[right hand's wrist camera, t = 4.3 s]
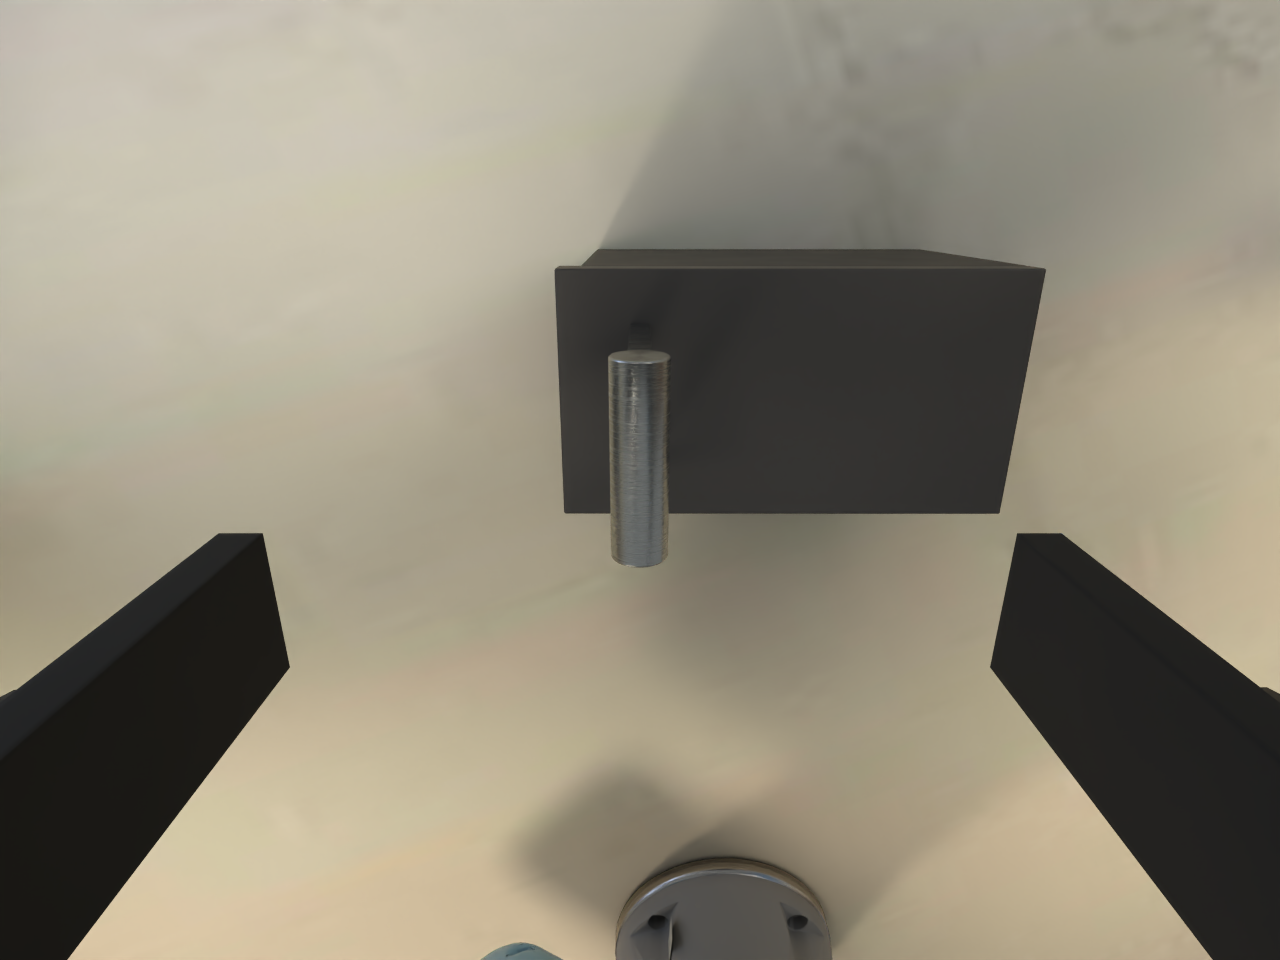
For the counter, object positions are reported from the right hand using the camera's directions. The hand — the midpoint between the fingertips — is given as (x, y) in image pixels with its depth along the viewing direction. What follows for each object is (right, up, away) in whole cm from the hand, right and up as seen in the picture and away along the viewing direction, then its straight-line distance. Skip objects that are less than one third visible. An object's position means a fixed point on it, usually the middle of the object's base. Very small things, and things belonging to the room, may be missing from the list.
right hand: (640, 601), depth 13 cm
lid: (+5, +6, +15) cm, 16 cm away
